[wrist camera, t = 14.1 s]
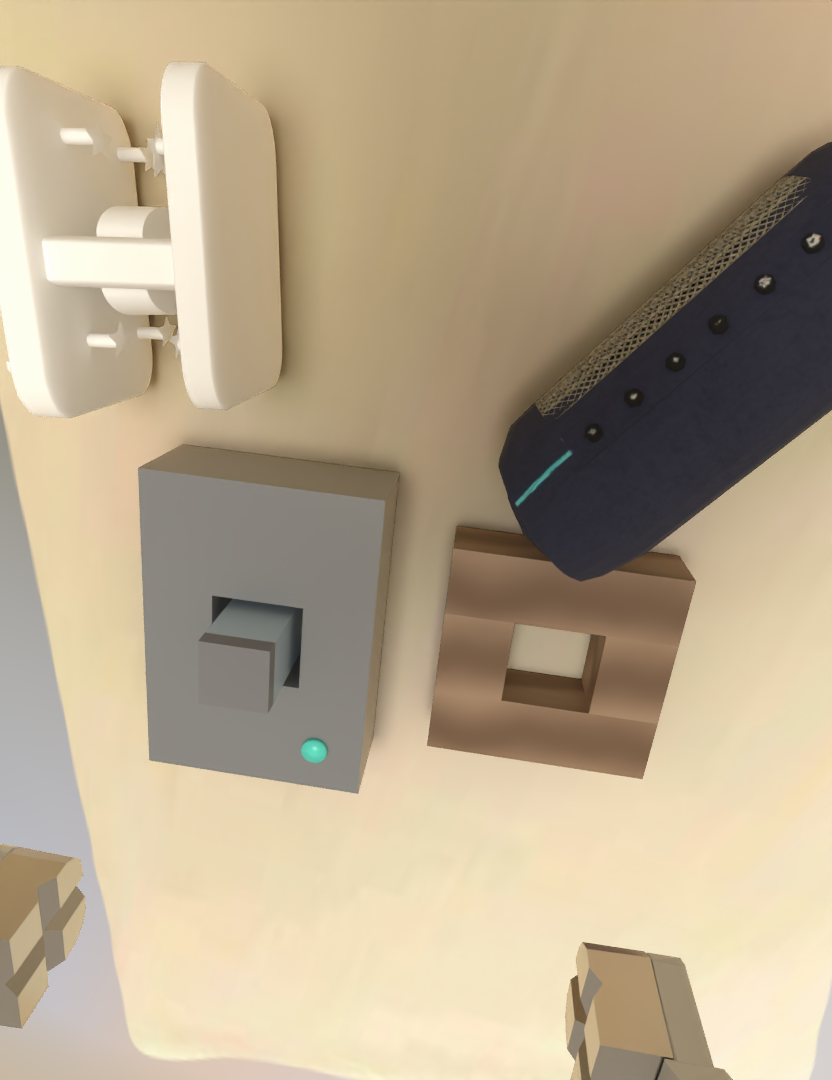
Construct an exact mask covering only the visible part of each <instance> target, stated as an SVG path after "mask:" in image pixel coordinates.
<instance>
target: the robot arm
mask: <svg viewBox="0 0 832 1080" xmlns="http://www.w3.org/2000/svg"><path fill="white" fill-rule="evenodd" d="M82 876H83V872H82V865H81V860H79V859H76V858H72V857H67V856H62V855H57V854H52V853H47V852H42V851H37V850H31V849H27V848H22V847H15V846H10V845H4V844H0V1025H2V1026H9V1027H15V1028H22V1027H23V1026H24V1024H25V1023H26V1021H27V1020H28V1018H29V1016H30V1015H31V1013H32V1012H33V1010H34V1009H35V1007H36V1005H37V1004H38V1002H39V1001H40V999H41V998H42V996H43V994H44V993H45V991H46V990H47V988H48V974H47V971H49V970H51V969H52V968H54V967H55V966H57V965H58V964H60V963H61V962H63V961H64V960H66V958H67V956H68V955H69V953H70V951H71V950H72V948H73V946H74V945H75V943H76V941H77V938H78V935H79V933H80V930H81V928H82V925H83V922H84V915H85V909H86V906H85V896H84V895H83V894H82V893H81V891H80V890H79V889H78V887H76V885H77V884H78V882H79V881H80V879H81V877H82ZM576 964H577V973H578V975H577V976H575V977H574V978H572V979H571V980H570V985H569V989H568V994H567V1003H566V1014H565V1018H566V1040H567V1049H568V1051H569V1052H570V1054H571V1055H572V1057H573V1058H574V1060H575V1064H574V1068H573V1072H572V1076H571V1080H733V1079H732V1078H731V1077H730V1076H729V1075H728V1073H727V1072H726V1071H725V1070H724V1069H719V1068H715V1067H714V1066H713V1062H712V1059H711V1055H710V1052H709V1048H708V1045H707V1041H706V1038H705V1034H704V1031H703V1027H702V1024H701V1020H700V1017H699V1013H698V1010H697V1006H696V1003H695V999H694V996H693V992H692V989H691V985H690V981H689V978H688V974H687V971H686V967H685V964H684V963H683V962H682V960H681V959H680V958H676V957H670V956H664V955H658V954H652V953H645V952H643V951H637V950H630V949H624V948H617V947H611V946H604V945H598V944H591V943H585V942H582V944H581V945H580V947H579V950H578V953H577V957H576Z"/></svg>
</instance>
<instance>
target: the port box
mask: <svg viewBox="0 0 832 1080" xmlns="http://www.w3.org/2000/svg"><path fill="white" fill-rule="evenodd" d="M138 476H139V502H140V528H141V554H142V580H143V606H144V632H145V658H146V684H147V710H148V736H149V760H151V761H157V762H163V763H170V764H176V765H182V766H188V767H195V768H201V769H207V770H213V771H220V772H226V773H232V774H238V775H245V776H251V777H257V778H263V779H270V780H276V781H282V782H289V783H295V784H301V785H307V786H314V787H320V788H326V789H332V790H339V791H345V792H351V793H357V794H358V792H359V788H360V785H361V781H362V777H363V773H364V770H365V766H366V762H367V758H368V755H369V751H370V747H371V743H372V740H373V733H374V723H375V713H376V703H377V693H378V683H379V673H380V663H381V653H382V643H383V633H384V623H385V613H386V603H387V593H388V583H389V573H390V563H391V552H392V542H393V532H394V522H395V512H396V502H397V492H398V482H399V473H398V472H391V471H383V470H375V469H368V468H360V467H352V466H345V465H337V464H329V463H322V462H314V461H306V460H299V459H291V458H283V457H276V456H268V455H260V454H253V453H245V452H237V451H230V450H222V449H214V448H207V447H199V446H191V445H184V444H183V445H181V446H179V447H177V448H175V449H173V450H171V451H169V452H167V453H166V454H164V455H162V456H160V457H158V458H156V459H154V460H152V461H150V462H149V463H147V464H145V465H143V466H141V467H139V468H138ZM232 599H240V600H247V601H254V602H261V603H268V604H275V605H282V606H289V607H296V608H303V619H302V638H301V652H300V654H299V656H298V657H297V659H296V661H295V663H294V665H293V667H292V669H291V671H290V673H289V675H288V677H287V679H286V680H285V682H284V684H283V686H282V688H281V690H280V692H279V694H278V696H277V698H276V700H275V701H274V703H273V705H272V707H271V709H270V711H269V713H268V714H264V713H258V712H251V711H245V710H238V709H232V708H225V707H219V706H212V705H206V704H199V699H198V640H199V639H200V638H201V637H202V636H203V634H204V633H205V632H206V631H207V629H208V628H209V627H210V626H211V625H212V623H213V622H214V621H215V620H216V619H217V617H218V616H219V615H220V614H221V612H222V611H223V610H224V609H225V608H226V606H227V605H228V604H229V603H230V601H231V600H232Z"/></svg>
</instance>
